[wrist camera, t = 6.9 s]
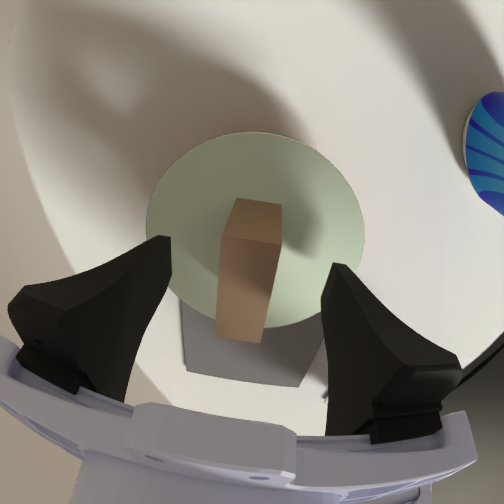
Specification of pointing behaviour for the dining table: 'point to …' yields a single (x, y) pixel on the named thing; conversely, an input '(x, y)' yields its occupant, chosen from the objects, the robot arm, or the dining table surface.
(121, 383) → the robot arm
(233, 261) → the lid
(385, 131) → the dining table surface
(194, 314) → the mat
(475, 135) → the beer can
